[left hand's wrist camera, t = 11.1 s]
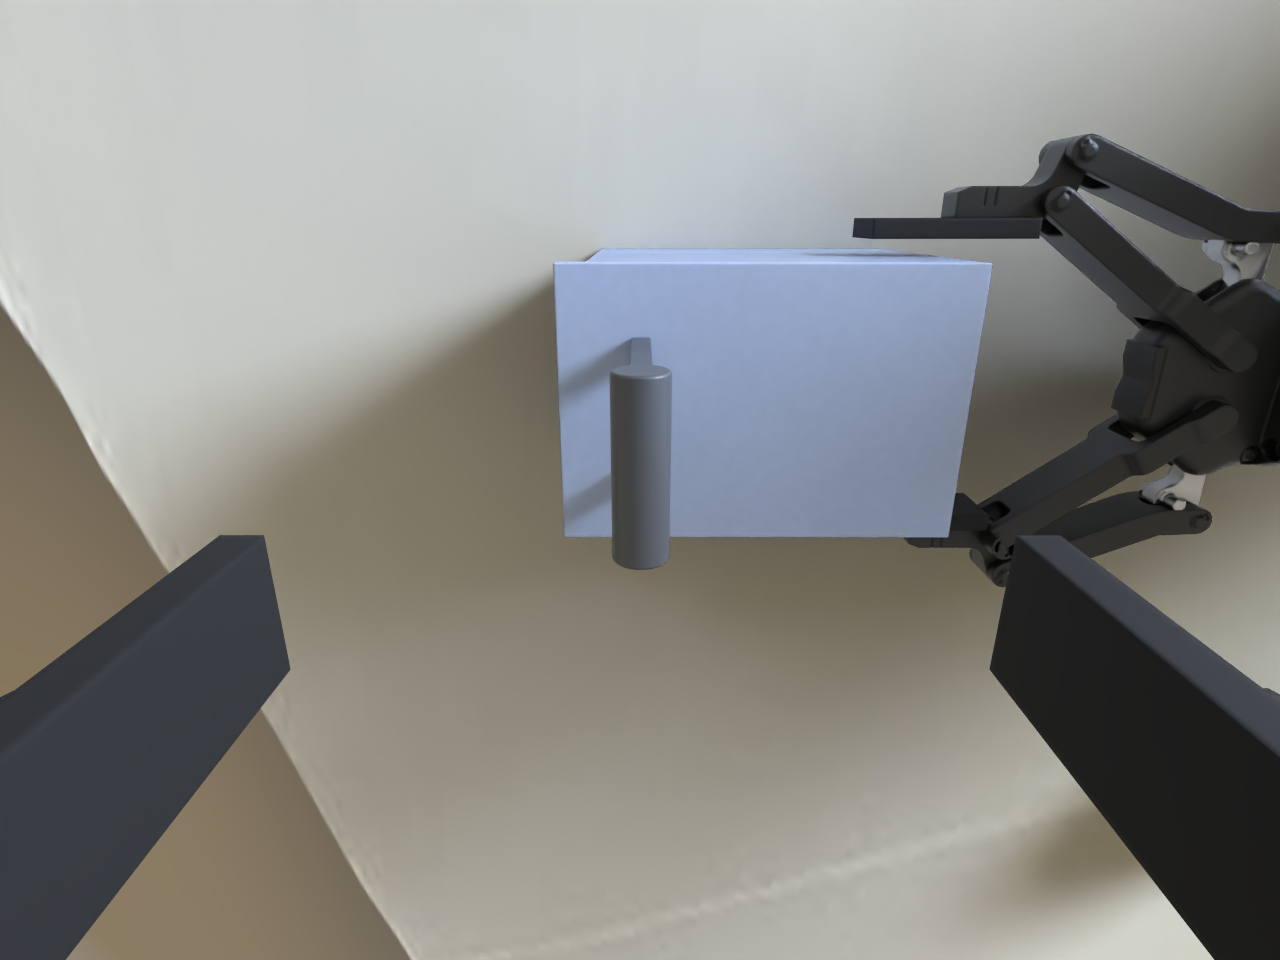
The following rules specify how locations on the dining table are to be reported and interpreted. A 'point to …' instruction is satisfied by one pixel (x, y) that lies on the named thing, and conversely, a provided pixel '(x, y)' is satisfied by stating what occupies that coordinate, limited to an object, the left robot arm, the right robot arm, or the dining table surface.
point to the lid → (762, 398)
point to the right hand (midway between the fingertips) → (846, 379)
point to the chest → (763, 255)
